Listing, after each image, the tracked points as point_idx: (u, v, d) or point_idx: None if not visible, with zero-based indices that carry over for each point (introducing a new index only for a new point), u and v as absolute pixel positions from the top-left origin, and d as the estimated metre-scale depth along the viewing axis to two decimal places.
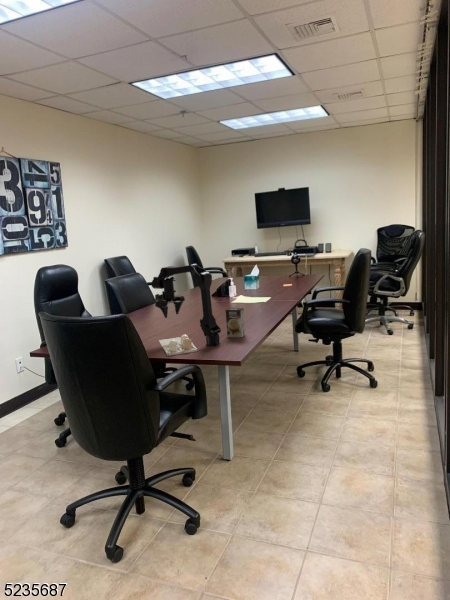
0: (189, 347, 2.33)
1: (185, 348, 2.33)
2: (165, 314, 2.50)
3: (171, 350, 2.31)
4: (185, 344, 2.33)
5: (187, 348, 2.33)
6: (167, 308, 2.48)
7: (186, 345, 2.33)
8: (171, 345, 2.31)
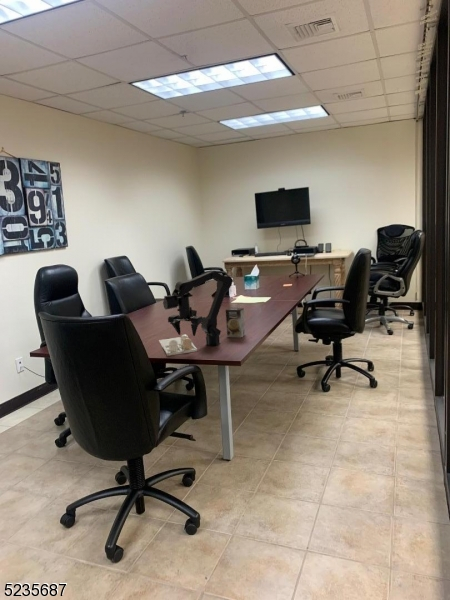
0: (189, 347, 2.33)
1: (185, 348, 2.33)
2: None
3: (171, 350, 2.31)
4: (185, 344, 2.33)
5: (187, 348, 2.33)
6: (174, 325, 2.33)
7: (186, 345, 2.33)
8: (171, 345, 2.31)
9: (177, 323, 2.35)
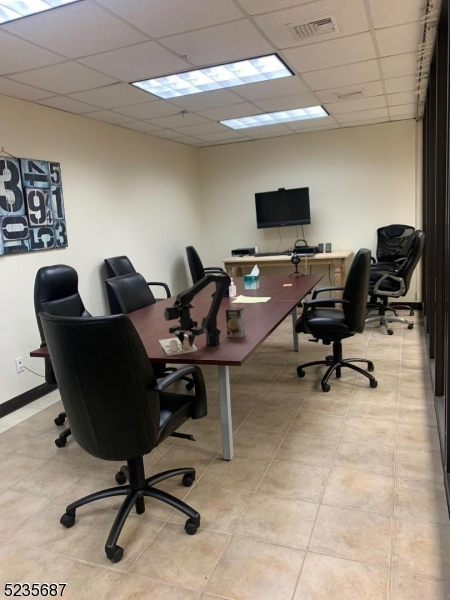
0: (189, 347, 2.33)
1: (185, 348, 2.33)
2: None
3: (171, 350, 2.31)
4: (185, 344, 2.33)
5: (187, 348, 2.33)
6: (178, 336, 2.33)
7: (186, 345, 2.33)
8: (171, 345, 2.31)
9: (181, 334, 2.35)
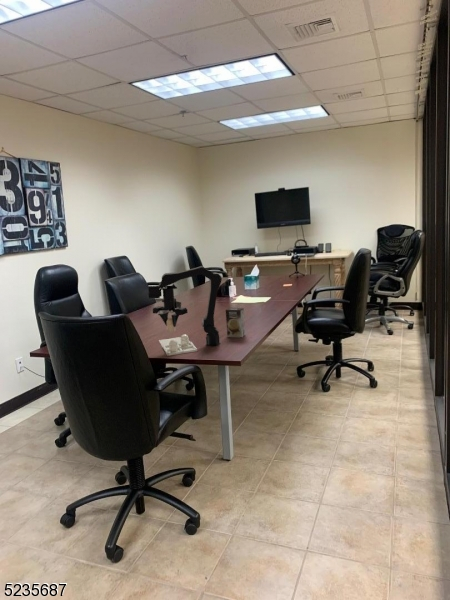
0: (172, 327, 2.35)
1: (168, 328, 2.35)
2: None
3: (171, 350, 2.31)
4: (168, 324, 2.35)
5: (170, 328, 2.35)
6: (162, 316, 2.35)
7: (169, 325, 2.35)
8: (171, 345, 2.31)
9: (165, 314, 2.37)
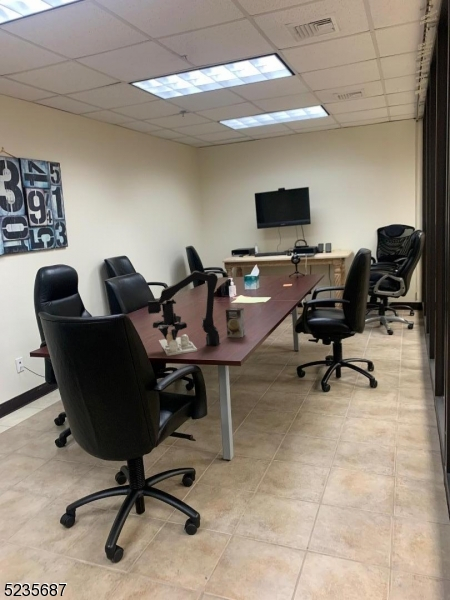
0: None
1: (168, 342, 2.38)
2: None
3: (171, 350, 2.31)
4: (168, 338, 2.37)
5: None
6: (162, 331, 2.38)
7: (169, 339, 2.37)
8: (171, 345, 2.31)
9: (165, 329, 2.39)
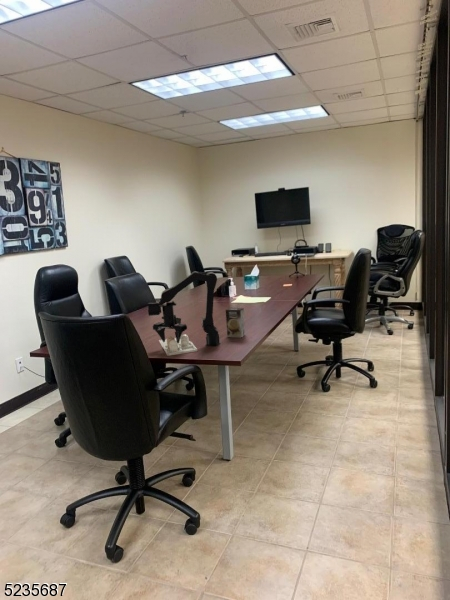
0: None
1: None
2: None
3: (171, 350, 2.31)
4: None
5: None
6: (159, 332, 2.39)
7: None
8: (171, 345, 2.31)
9: (162, 330, 2.41)
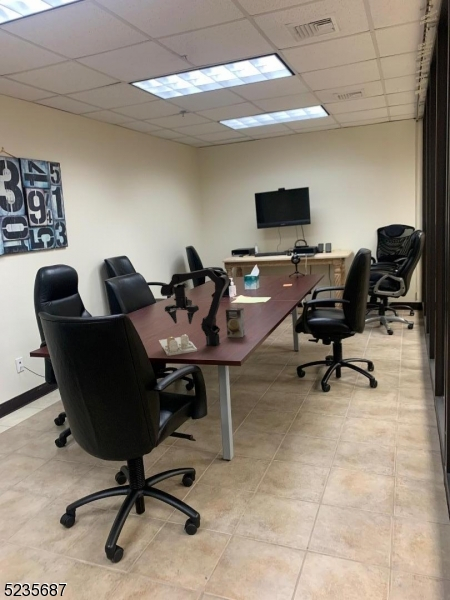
0: None
1: None
2: None
3: (171, 350, 2.31)
4: None
5: None
6: (171, 314, 2.45)
7: None
8: (171, 345, 2.31)
9: (173, 312, 2.47)
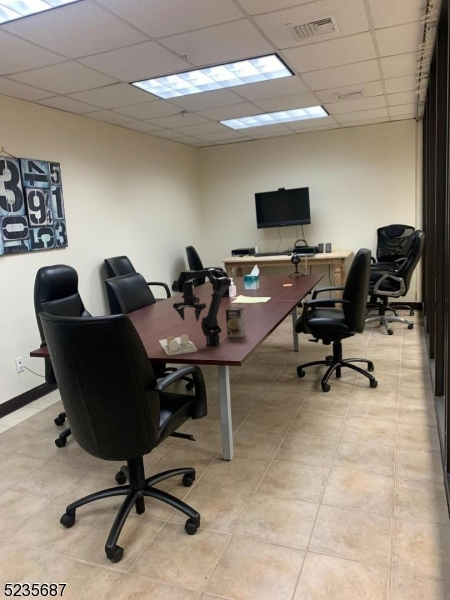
0: None
1: None
2: None
3: (171, 350, 2.31)
4: None
5: None
6: (179, 311, 2.50)
7: None
8: (171, 345, 2.31)
9: (181, 309, 2.52)
